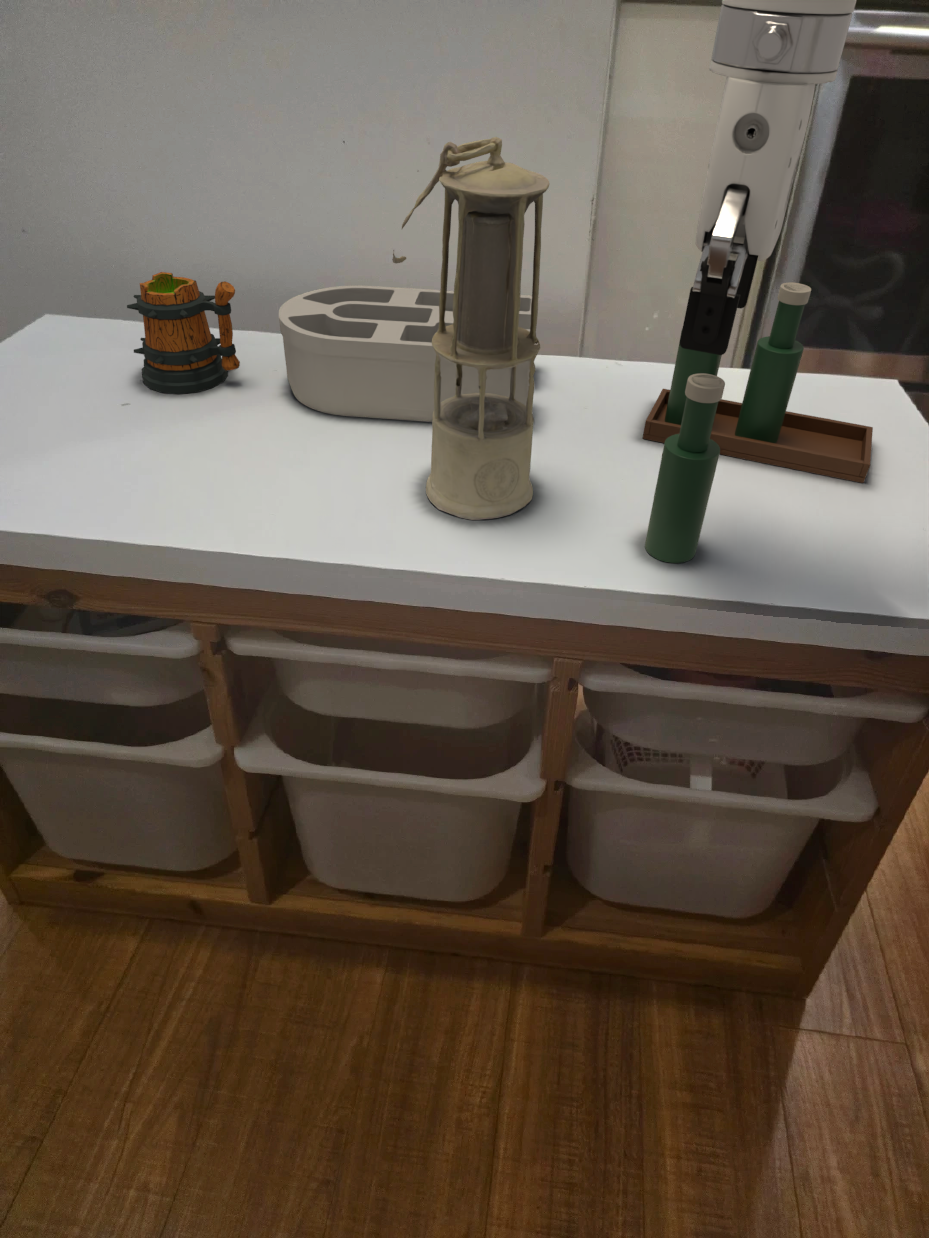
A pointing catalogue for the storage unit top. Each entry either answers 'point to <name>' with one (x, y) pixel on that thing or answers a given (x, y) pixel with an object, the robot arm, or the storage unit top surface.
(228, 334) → the mug
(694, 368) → the bottle end
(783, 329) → the bottle mid
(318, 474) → the storage unit top surface
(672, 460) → the bottle
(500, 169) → the lamp
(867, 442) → the tray
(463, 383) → the grey compartment organizer
